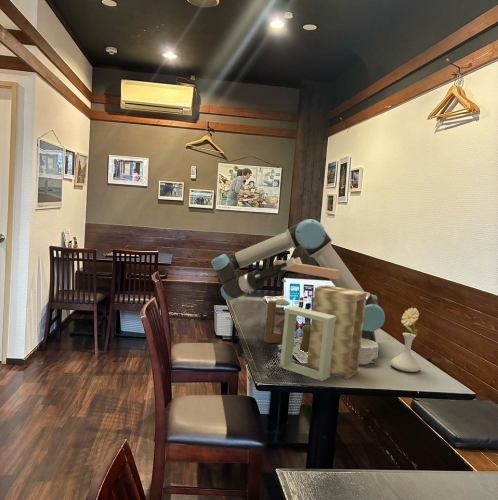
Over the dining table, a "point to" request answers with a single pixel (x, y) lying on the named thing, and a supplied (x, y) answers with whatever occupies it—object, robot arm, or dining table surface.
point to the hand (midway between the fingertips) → (297, 260)
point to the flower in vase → (407, 344)
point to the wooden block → (273, 325)
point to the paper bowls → (368, 351)
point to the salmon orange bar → (312, 270)
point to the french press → (280, 311)
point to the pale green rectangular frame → (325, 346)
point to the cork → (305, 338)
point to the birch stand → (338, 329)
